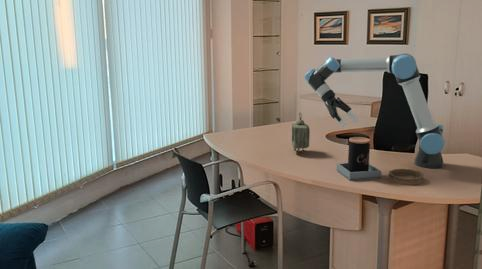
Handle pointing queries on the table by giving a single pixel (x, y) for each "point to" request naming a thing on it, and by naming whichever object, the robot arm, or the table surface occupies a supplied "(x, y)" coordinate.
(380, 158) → the table surface
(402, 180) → the ring guard
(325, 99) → the robot arm
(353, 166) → the coffee jar
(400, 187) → the table surface
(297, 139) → the green lantern
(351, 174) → the tray
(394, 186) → the table surface
